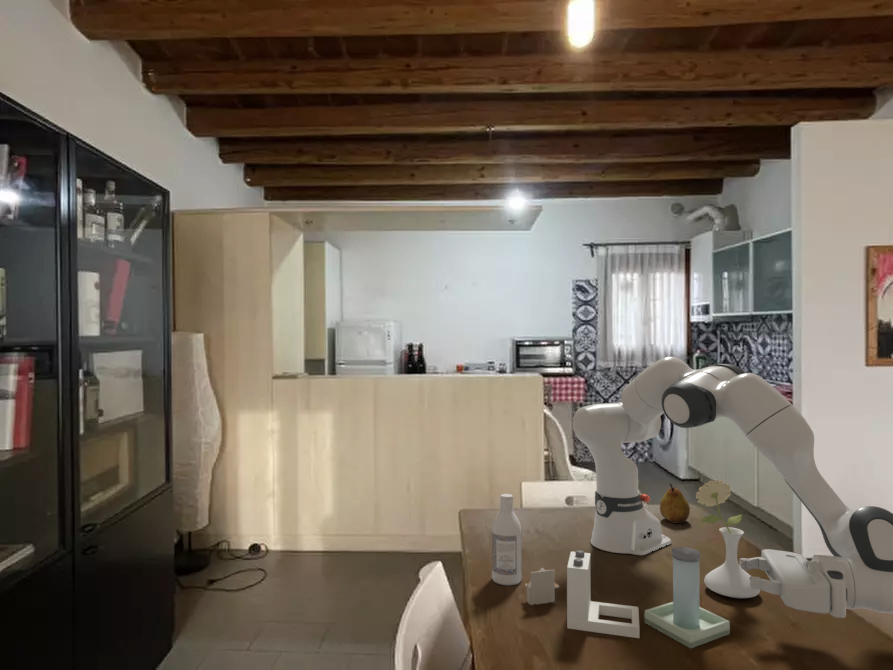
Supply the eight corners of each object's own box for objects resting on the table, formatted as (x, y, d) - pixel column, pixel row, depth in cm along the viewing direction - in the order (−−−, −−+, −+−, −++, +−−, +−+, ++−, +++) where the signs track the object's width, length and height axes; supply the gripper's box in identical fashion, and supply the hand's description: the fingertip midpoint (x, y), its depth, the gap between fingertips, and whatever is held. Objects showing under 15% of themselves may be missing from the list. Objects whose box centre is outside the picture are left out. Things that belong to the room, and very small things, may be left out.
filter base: (638, 616, 120) (638, 554, 120) (639, 638, 112) (639, 571, 112) (571, 608, 124) (570, 547, 124) (567, 628, 116) (567, 563, 116)
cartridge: (684, 614, 119) (684, 545, 119) (706, 625, 115) (706, 553, 115) (666, 620, 117) (666, 549, 117) (688, 631, 112) (687, 558, 112)
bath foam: (503, 571, 144) (502, 489, 144) (527, 579, 139) (527, 494, 139) (486, 580, 138) (486, 495, 138) (510, 588, 134) (510, 501, 134)
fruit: (681, 516, 188) (681, 478, 188) (695, 525, 179) (695, 485, 179) (655, 516, 187) (655, 479, 187) (667, 525, 178) (667, 486, 178)
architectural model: (524, 600, 129) (524, 566, 129) (553, 596, 131) (552, 563, 131) (530, 607, 126) (530, 572, 126) (559, 603, 128) (559, 569, 128)
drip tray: (682, 610, 123) (682, 598, 123) (729, 634, 113) (729, 621, 113) (644, 622, 118) (644, 610, 118) (690, 648, 108) (690, 634, 108)
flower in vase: (755, 585, 135) (755, 476, 135) (764, 607, 125) (764, 489, 125) (694, 578, 140) (694, 472, 140) (698, 598, 129) (697, 484, 129)
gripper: (810, 544, 118) (735, 538, 122) (847, 585, 99) (755, 576, 103) (810, 576, 118) (735, 568, 122) (847, 623, 99) (756, 612, 103)
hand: (744, 572), depth 112 cm, fingers open, 8 cm apart
